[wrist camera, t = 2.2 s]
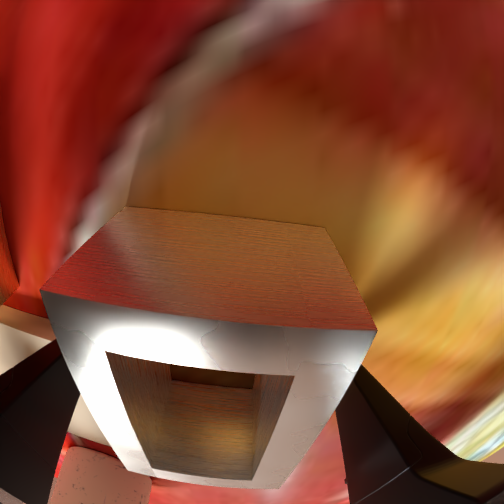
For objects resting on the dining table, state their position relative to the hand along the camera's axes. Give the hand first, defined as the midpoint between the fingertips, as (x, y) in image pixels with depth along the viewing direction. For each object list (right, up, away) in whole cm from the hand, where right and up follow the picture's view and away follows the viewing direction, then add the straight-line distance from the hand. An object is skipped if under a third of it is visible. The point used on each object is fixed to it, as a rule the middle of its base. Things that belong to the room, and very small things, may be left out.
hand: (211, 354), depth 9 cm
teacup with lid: (-12, -18, +11) cm, 24 cm away
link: (0, 0, +1) cm, 1 cm away
